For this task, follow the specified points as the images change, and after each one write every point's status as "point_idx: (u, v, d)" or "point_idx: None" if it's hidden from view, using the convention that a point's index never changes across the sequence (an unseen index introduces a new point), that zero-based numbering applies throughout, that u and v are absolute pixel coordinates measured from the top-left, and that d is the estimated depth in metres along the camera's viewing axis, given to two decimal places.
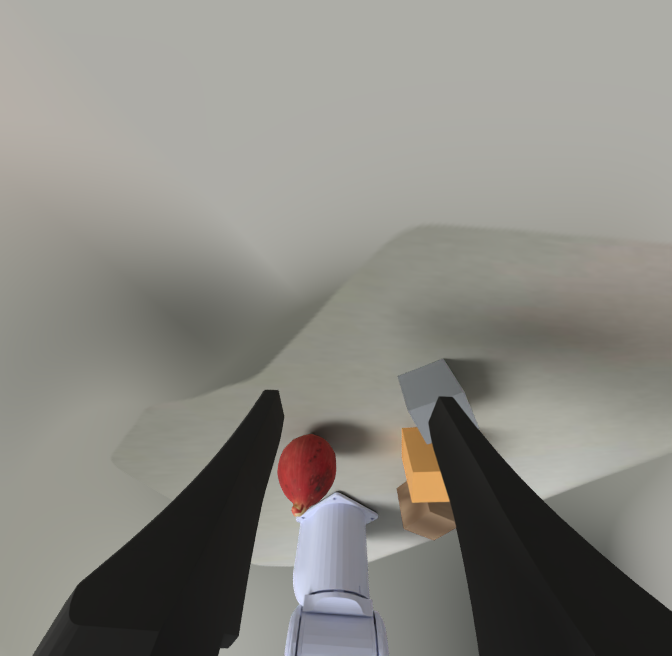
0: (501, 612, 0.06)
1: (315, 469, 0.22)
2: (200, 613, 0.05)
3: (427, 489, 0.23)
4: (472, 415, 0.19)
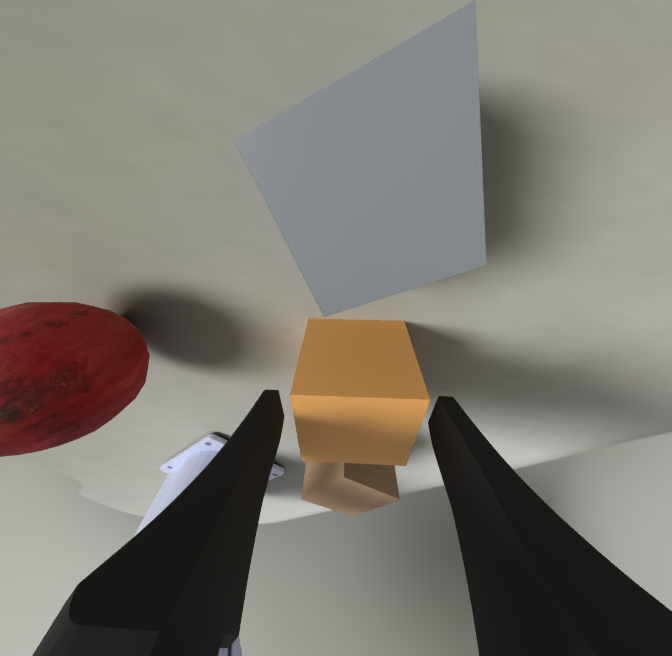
0: (501, 611, 0.06)
1: (11, 365, 0.08)
2: (200, 613, 0.05)
3: (330, 437, 0.10)
4: (477, 194, 0.05)
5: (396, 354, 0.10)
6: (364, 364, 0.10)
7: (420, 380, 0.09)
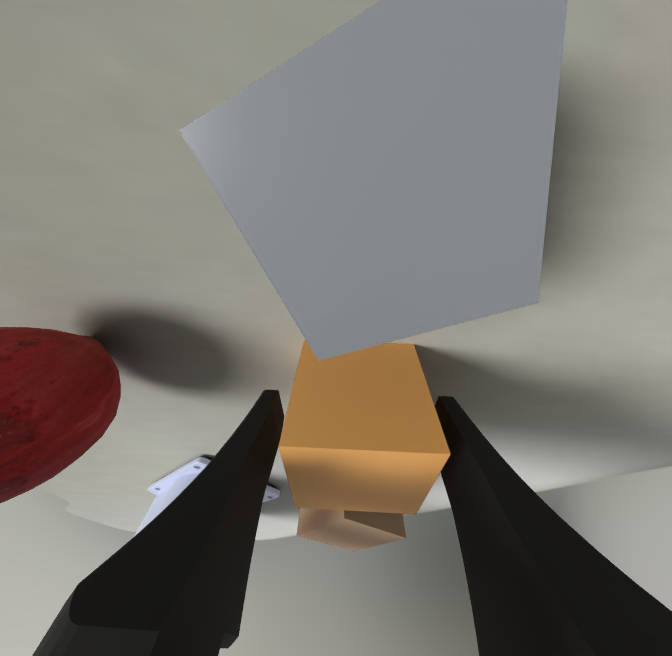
0: (501, 611, 0.06)
1: None
2: (200, 613, 0.05)
3: (328, 487, 0.09)
4: (538, 209, 0.04)
5: (406, 389, 0.09)
6: (368, 403, 0.08)
7: (436, 425, 0.08)
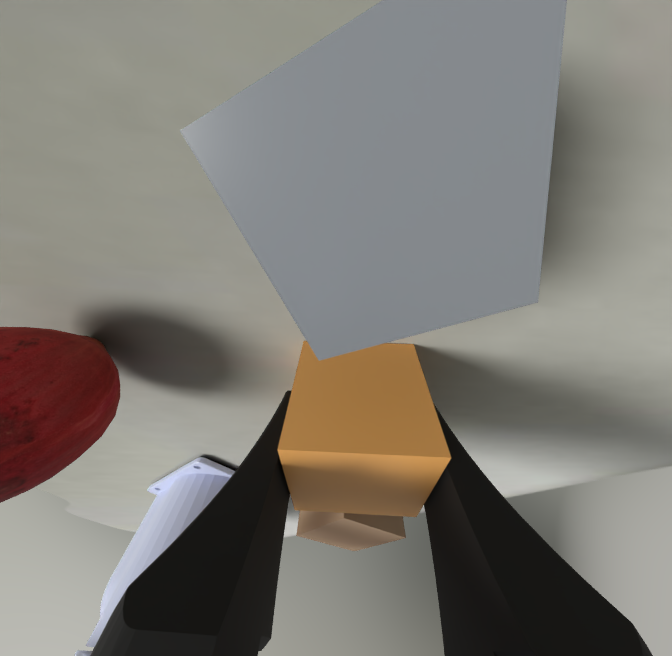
0: (461, 609, 0.06)
1: None
2: (245, 616, 0.05)
3: (328, 490, 0.09)
4: (538, 209, 0.04)
5: (406, 391, 0.09)
6: (368, 405, 0.08)
7: (437, 428, 0.07)
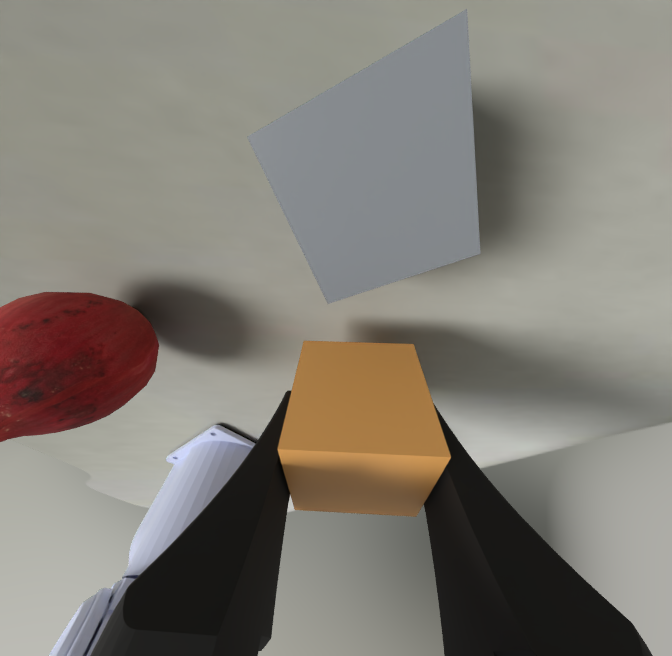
0: (461, 609, 0.06)
1: (33, 349, 0.08)
2: (245, 616, 0.05)
3: (328, 490, 0.09)
4: (471, 186, 0.06)
5: (406, 391, 0.09)
6: (368, 405, 0.08)
7: (437, 428, 0.08)
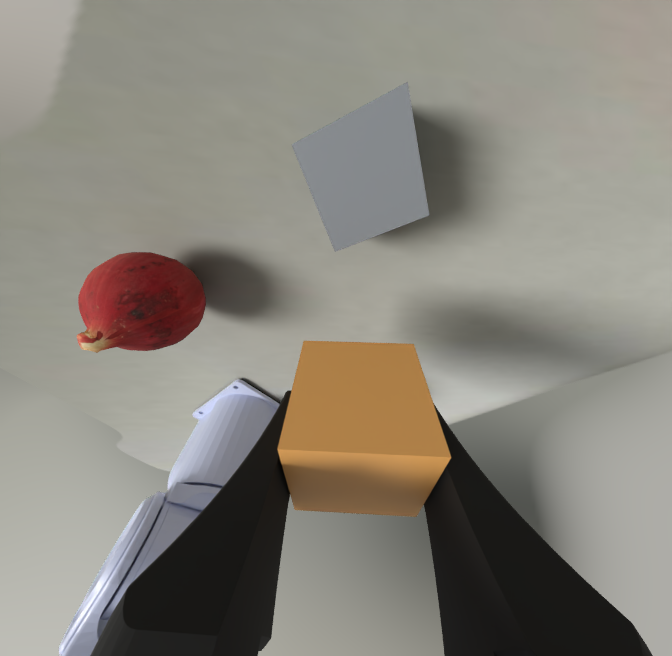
0: (461, 609, 0.06)
1: (137, 284, 0.12)
2: (245, 616, 0.05)
3: (328, 490, 0.09)
4: (419, 172, 0.10)
5: (406, 391, 0.09)
6: (368, 405, 0.08)
7: (437, 428, 0.08)
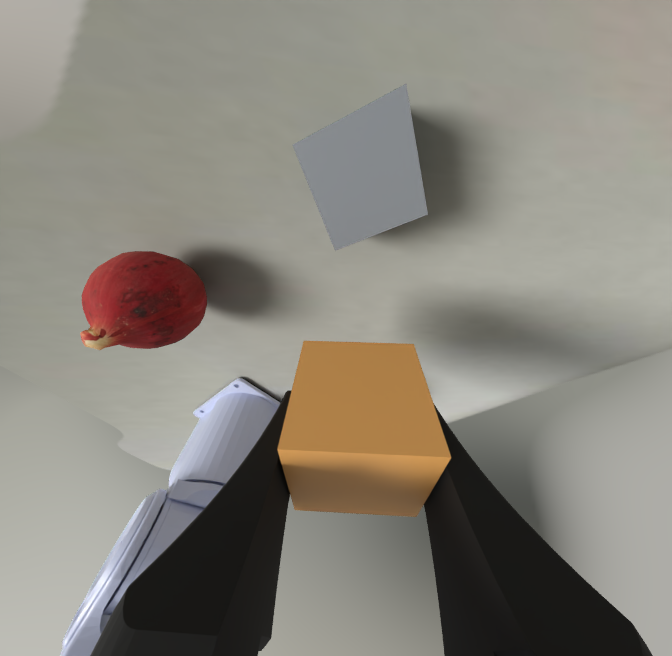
0: (461, 609, 0.06)
1: (140, 282, 0.12)
2: (245, 616, 0.05)
3: (328, 490, 0.09)
4: (418, 172, 0.10)
5: (406, 391, 0.09)
6: (368, 405, 0.08)
7: (437, 428, 0.07)
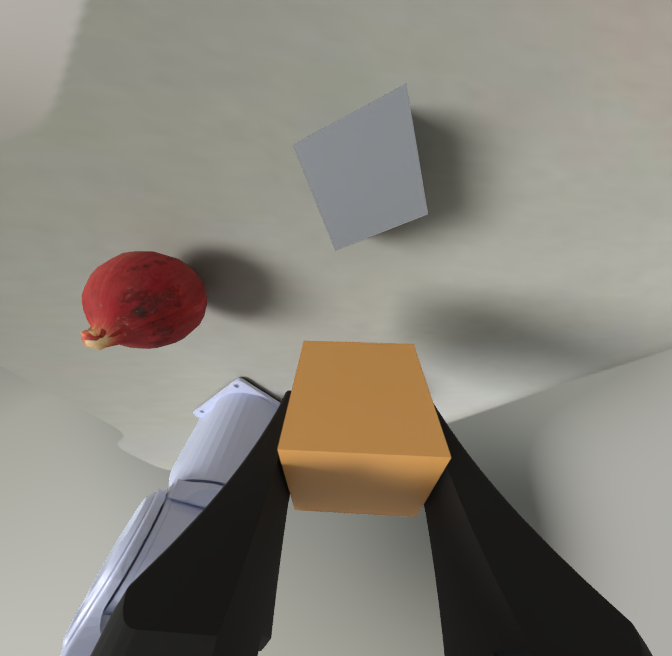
0: (461, 609, 0.06)
1: (140, 282, 0.12)
2: (245, 616, 0.05)
3: (328, 490, 0.09)
4: (418, 172, 0.10)
5: (406, 391, 0.09)
6: (368, 405, 0.08)
7: (437, 428, 0.07)
